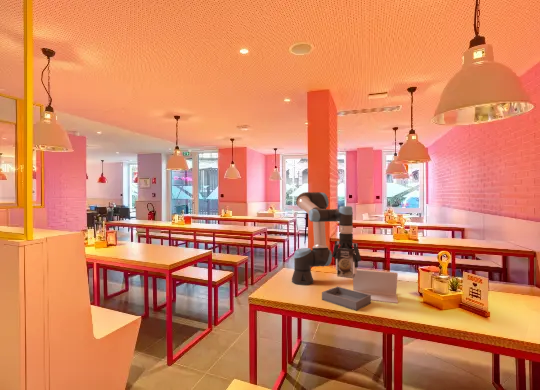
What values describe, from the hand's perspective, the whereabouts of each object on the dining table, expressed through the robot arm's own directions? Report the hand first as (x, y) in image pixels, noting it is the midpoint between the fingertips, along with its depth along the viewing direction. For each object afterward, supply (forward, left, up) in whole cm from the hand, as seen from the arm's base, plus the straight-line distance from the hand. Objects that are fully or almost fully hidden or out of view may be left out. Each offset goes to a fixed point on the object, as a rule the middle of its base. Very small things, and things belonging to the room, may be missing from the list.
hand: (346, 271), depth 160 cm
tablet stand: (+6, +22, -18) cm, 29 cm away
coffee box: (0, 0, -3) cm, 3 cm away
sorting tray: (0, 0, -17) cm, 17 cm away
